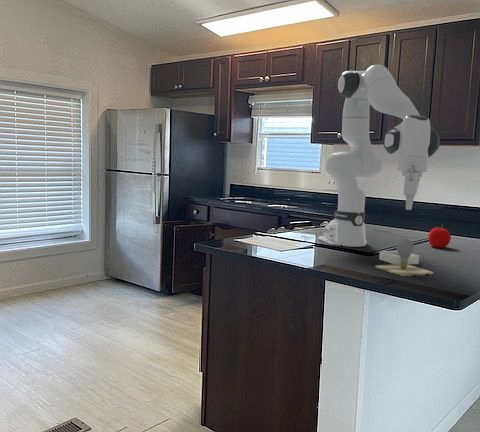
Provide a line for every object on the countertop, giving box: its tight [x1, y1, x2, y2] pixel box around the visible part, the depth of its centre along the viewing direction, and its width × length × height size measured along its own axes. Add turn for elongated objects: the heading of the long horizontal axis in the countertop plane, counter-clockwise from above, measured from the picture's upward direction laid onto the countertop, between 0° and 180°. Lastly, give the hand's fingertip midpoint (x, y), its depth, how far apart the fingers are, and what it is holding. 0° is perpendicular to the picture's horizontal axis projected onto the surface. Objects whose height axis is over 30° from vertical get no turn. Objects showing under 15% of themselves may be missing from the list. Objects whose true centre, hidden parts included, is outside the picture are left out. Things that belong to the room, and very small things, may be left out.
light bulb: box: [395, 238, 415, 269], centre depth 159 cm, size 6×6×10 cm
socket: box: [378, 250, 420, 265], centre depth 173 cm, size 10×10×3 cm
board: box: [374, 263, 435, 277], centre depth 159 cm, size 13×13×1 cm
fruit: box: [427, 224, 452, 249], centre depth 207 cm, size 9×9×10 cm
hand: (409, 208), depth 157 cm, fingers open, 8 cm apart
